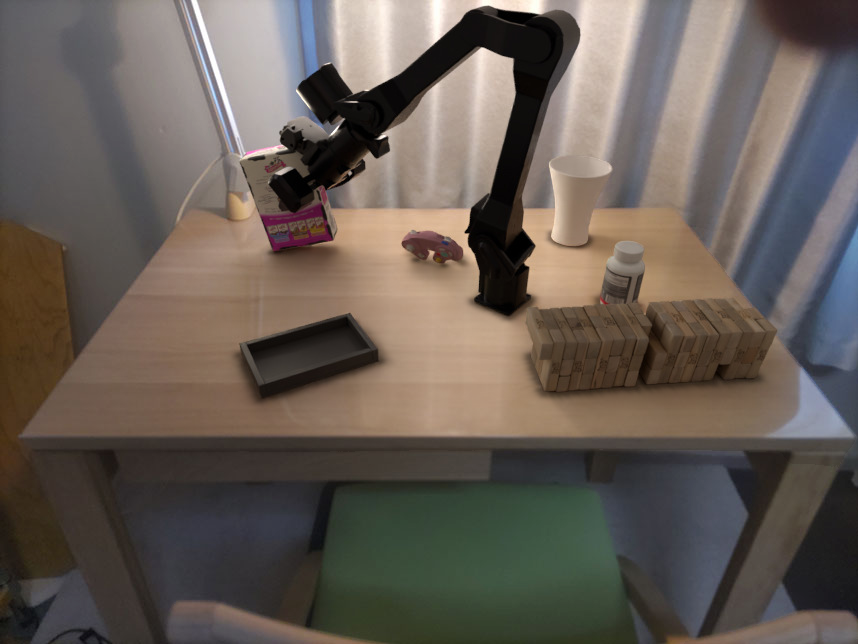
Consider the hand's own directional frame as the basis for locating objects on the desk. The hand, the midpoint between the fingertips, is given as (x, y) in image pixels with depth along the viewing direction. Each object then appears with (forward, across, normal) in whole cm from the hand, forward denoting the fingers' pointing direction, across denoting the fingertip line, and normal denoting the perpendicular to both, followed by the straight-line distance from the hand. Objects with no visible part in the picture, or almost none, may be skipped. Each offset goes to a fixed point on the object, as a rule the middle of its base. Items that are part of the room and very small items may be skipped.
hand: (294, 200), depth 101 cm
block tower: (-37, +6, +48) cm, 61 cm away
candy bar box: (+4, 0, +6) cm, 7 cm away
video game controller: (-11, -6, +22) cm, 25 cm away
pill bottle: (-33, -7, +44) cm, 55 cm away
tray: (-10, +25, +21) cm, 34 cm away
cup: (-24, -25, +35) cm, 49 cm away
